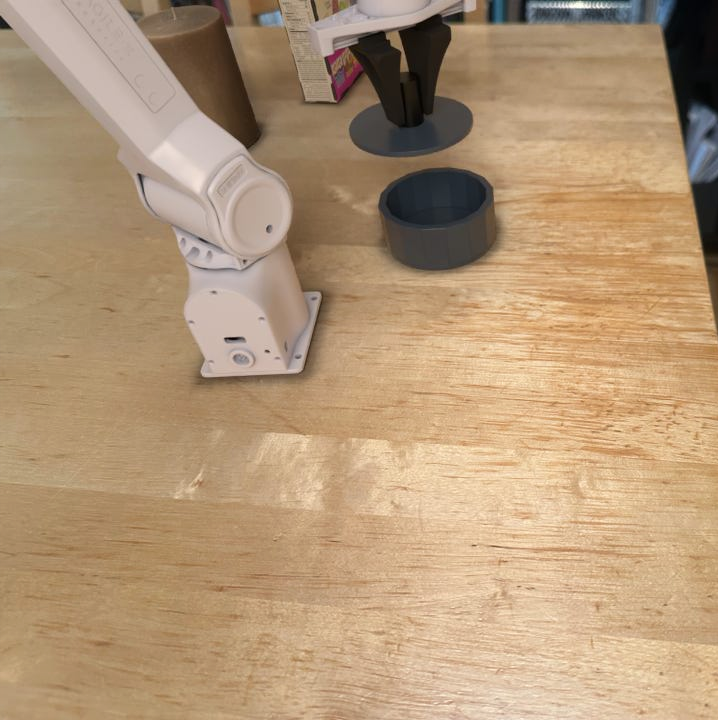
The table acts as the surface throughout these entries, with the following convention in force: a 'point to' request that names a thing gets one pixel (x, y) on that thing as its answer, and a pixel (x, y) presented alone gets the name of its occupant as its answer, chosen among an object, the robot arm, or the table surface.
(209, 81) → the pillar candle
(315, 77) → the candy bar box
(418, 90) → the lid
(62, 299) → the table surface
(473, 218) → the pot
